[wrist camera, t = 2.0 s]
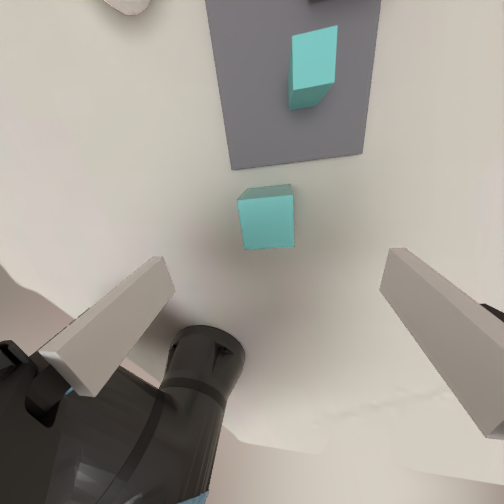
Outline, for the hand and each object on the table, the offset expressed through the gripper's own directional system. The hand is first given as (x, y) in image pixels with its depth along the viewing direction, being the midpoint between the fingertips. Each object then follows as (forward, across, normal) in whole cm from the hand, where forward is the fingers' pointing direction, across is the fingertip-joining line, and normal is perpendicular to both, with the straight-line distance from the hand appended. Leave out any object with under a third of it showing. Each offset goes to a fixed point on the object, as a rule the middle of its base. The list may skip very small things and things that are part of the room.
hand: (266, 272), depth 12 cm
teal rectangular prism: (+15, 0, 0) cm, 15 cm away
